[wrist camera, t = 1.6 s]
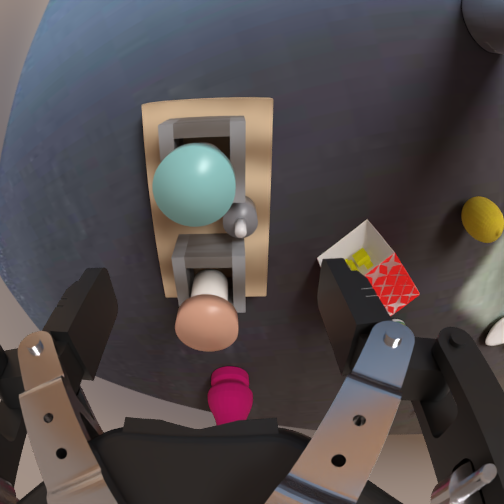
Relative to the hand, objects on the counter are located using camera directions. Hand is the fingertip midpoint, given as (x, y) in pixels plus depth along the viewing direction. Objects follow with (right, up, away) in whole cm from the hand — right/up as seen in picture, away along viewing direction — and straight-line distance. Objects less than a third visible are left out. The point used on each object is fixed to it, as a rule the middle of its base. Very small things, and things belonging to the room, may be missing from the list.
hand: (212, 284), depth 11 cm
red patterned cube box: (+15, 0, +27) cm, 31 cm away
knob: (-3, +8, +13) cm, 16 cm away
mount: (-3, +7, +22) cm, 23 cm away
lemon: (+31, +8, +24) cm, 40 cm away
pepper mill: (-2, -20, +38) cm, 43 cm away
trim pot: (0, +5, +20) cm, 20 cm away
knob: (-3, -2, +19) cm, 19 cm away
